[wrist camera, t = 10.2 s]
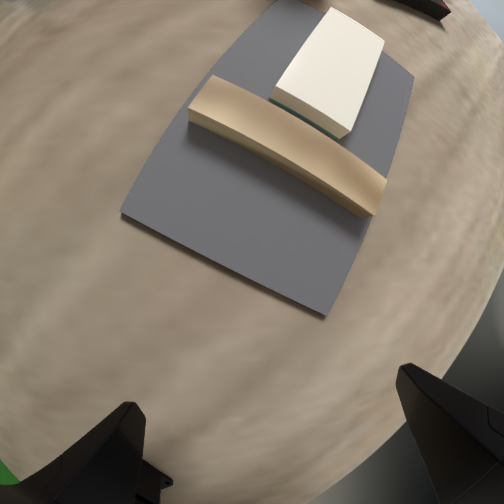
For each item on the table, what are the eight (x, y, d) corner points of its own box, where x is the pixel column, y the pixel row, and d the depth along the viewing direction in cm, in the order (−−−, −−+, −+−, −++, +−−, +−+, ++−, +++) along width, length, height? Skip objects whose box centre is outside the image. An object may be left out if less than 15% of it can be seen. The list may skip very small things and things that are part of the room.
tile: (350, 131, 17) (384, 41, 17) (275, 85, 16) (331, 6, 16) (337, 140, 19) (374, 50, 19) (268, 99, 18) (323, 18, 18)
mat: (324, 314, 19) (327, 316, 19) (121, 211, 17) (119, 211, 16) (411, 78, 21) (414, 77, 20) (282, -3, 18) (284, -6, 17)
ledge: (359, 218, 19) (374, 215, 17) (188, 120, 17) (187, 107, 15) (372, 184, 19) (387, 180, 17) (210, 89, 17) (212, 74, 15)
